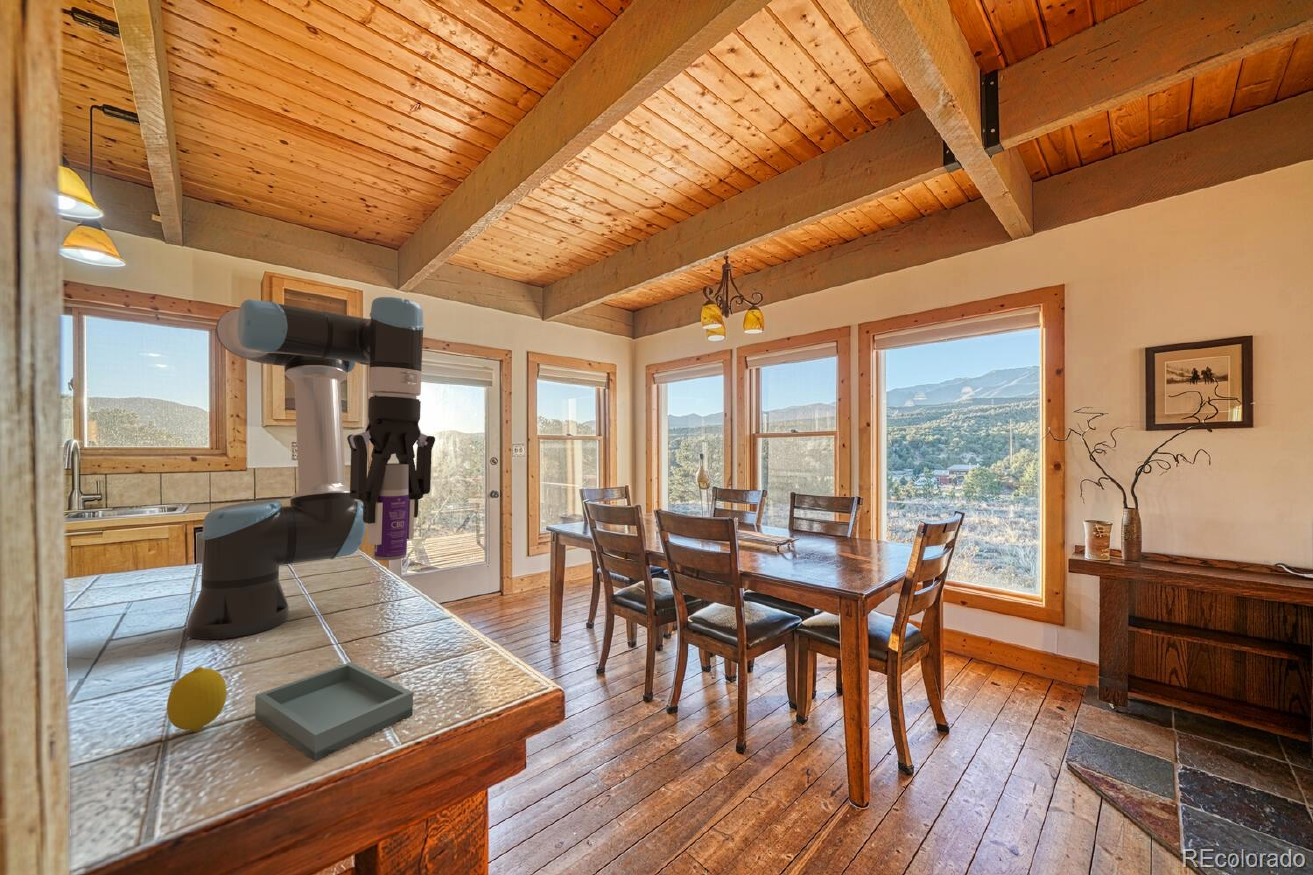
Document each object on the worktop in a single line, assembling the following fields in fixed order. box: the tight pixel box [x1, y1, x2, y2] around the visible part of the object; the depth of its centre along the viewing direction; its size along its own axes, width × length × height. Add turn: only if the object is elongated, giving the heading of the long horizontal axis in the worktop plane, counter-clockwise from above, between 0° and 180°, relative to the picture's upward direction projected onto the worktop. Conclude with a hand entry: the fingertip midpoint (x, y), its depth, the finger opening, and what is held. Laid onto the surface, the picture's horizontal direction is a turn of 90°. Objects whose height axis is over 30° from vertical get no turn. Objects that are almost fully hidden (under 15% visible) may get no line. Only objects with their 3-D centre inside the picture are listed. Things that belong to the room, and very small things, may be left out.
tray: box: [254, 662, 414, 762], centre depth 68 cm, size 16×12×3 cm
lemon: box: [166, 666, 228, 733], centre depth 64 cm, size 6×6×8 cm
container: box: [373, 462, 408, 561], centre depth 83 cm, size 5×5×15 cm
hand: (390, 540), depth 83 cm, fingers closed on container, 5 cm apart
